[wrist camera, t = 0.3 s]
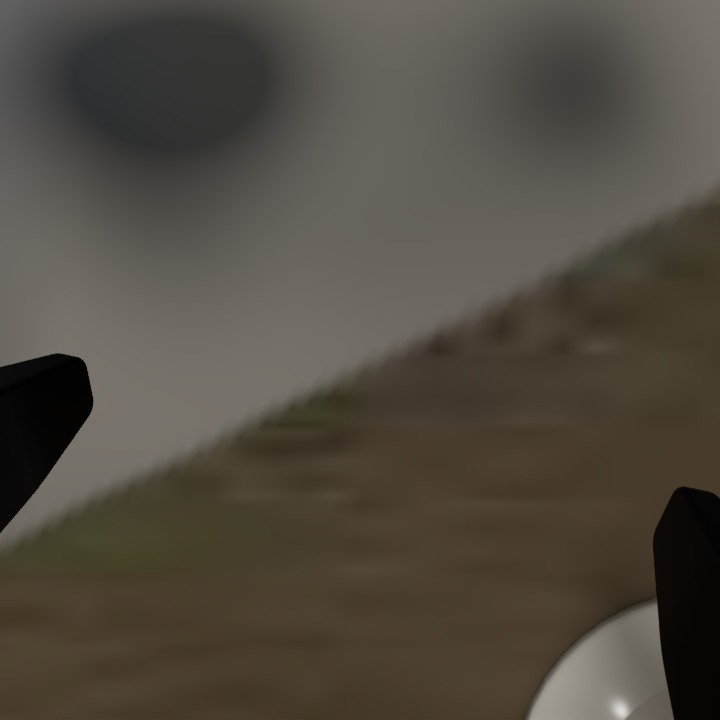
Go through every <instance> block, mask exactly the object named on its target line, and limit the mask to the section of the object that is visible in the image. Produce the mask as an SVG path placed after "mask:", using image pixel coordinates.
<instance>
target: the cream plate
mask: <svg viewBox="0 0 720 720" xmlns="http://www.w3.org/2000/svg"><path fill="white" fill-rule="evenodd" d="M524 720H674V718H673V713H672V708H671V703H670V697H669V692H668V687H667V682H666V677H665V672H664V666H663V660H662V654H661V644H660V634H659V620H658V607H657V597H654V598H652V599H649V600H646V601H643V602H641V603H638V604H635V605H632V606H630V607H627V608H625V609H623V610H621V611H619V612H617V613H616V614H614V615H612V616H610V617H608V618H606V619H604V620H602V621H601V622H600V623H598V624H597V625H595V626H594V627H593V628H591V629H590V630H589V631H587V632H586V633H584V634H583V635H582V636H580V637H579V638H578V639H577V640H576V641H575V642H574V643H573V644H572V645H571V646H570V647H569V648H568V649H567V650H566V651H565V652H564V653H563V654H562V655H561V656H560V657H559V658H558V660H557V661H556V662H555V664H554V665H553V666H552V668H551V669H550V670H549V671H548V673H547V674H546V675H545V677H544V678H543V680H542V682H541V684H540V685H539V687H538V689H537V691H536V693H535V694H534V696H533V698H532V700H531V702H530V705H529V707H528V710H527V712H526V715H525V718H524Z"/></svg>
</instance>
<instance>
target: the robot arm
mask: <svg viewBox="0 0 720 720" xmlns="http://www.w3.org/2000/svg"><path fill="white" fill-rule="evenodd" d="M92 407H93V395H92V391H91V385H90V380H89V376H88V371H87V367H86V364H85V362H84V361H83V360H82V359H81V358H79V357H74V356H70V355H65V354H60V353H59V354H58V353H56V354H51V355H47V356H43V357H40V358H35V359H31V360H27V361H23V362H19V363H15V364H11V365H7V366H3V367H0V533H1V532H2V530H3V529H4V528H5V527H6V526H7V525H8V523H9V522H10V521H11V520H12V519H13V518H14V516H15V515H16V514H17V513H18V512H19V511H20V509H21V508H22V507H23V506H24V505H25V504H26V502H27V501H28V500H29V499H30V498H31V496H32V495H33V494H34V493H35V491H36V490H37V489H38V488H39V486H40V485H41V483H42V482H43V481H44V479H45V478H46V477H47V475H48V474H49V472H50V471H51V470H52V468H53V467H54V465H55V464H56V462H57V461H58V459H59V458H60V457H61V455H62V454H63V452H64V451H65V450H66V448H67V447H68V445H69V444H70V442H71V441H72V440H73V438H74V437H75V435H76V434H77V432H78V431H79V430H80V428H81V427H82V425H83V424H84V422H85V421H86V420H87V418H88V417H89V415H90V413H91V411H92ZM653 553H654V567H655V580H656V594H657V607H658V620H659V634H660V644H661V654H662V660H663V666H664V672H665V677H666V682H667V687H668V692H669V697H670V703H671V708H672V713H673V718H674V720H720V498H719V497H718V496H716V495H715V494H714V493H711V492H708V491H704V490H699V489H694V488H689V487H685V486H682V487H679V488H677V489H676V490H675V491H674V492H673V494H672V496H671V498H670V500H669V502H668V504H667V506H666V508H665V510H664V513H663V515H662V517H661V519H660V521H659V523H658V525H657V527H656V529H655V533H654V538H653Z"/></svg>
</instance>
